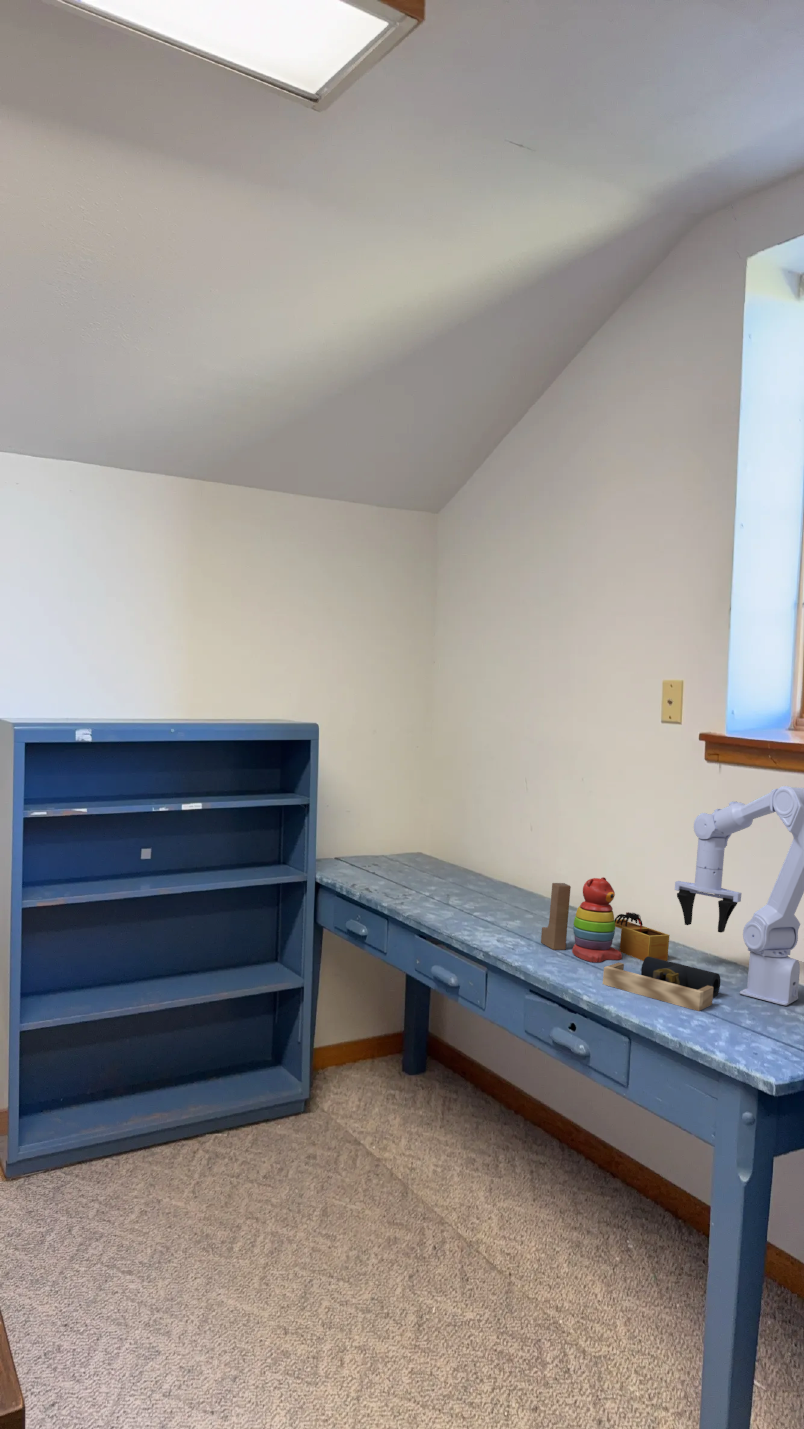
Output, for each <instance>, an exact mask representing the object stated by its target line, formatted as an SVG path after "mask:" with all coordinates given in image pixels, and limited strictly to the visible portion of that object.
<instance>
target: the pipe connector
mask: <svg viewBox="0 0 804 1429" xmlns="http://www.w3.org/2000/svg"><path fill="white" fill-rule="evenodd" d="M640 970H641V971H640V975H643V976H647V977H651V978H654V979H658V980H662V981H666V982H669V983H673V984H677V985H681V986H685V987H688V988H692V989H696V990H698V989H701V988H703V987H705V986H707V985H708V986H712V987H714V988H713V999H714V998H715V997H717V996H718V995H719V992H720V987H721V975H720V974H719V973H718V972H713V971H710V970H705V969H701V968H696V967H693V966H689V965H685V964H681V963H677V962H672V961H668V960H667V961H665V960H661V959H657V958H653V957H649V956H647V957H646V958H645V959H644V961H642V964H641V969H640Z"/></svg>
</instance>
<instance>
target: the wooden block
mask: <svg viewBox="0 0 804 1429" xmlns="http://www.w3.org/2000/svg"><path fill="white" fill-rule="evenodd" d="M571 888H572V887H571V885H570V884H567V883H565V882H552V884H551V894H550V895H551V896H550V907H549V918H548V921H549V922H548V925H547V927H546V926H545V927H543V926H542V927H541V935H540V943H541V944H543V945H545V946H546V947H548V948H549V949H551V950H553V951H560V950H561V951H563V950H564V951H565V950H566V949H567V948H566V947H567V937H568V936H567V935H568V924H569V922H568V921H569V911H570V910H569V909H570V898H571Z"/></svg>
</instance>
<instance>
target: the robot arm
mask: <svg viewBox="0 0 804 1429" xmlns="http://www.w3.org/2000/svg"><path fill="white" fill-rule="evenodd" d="M713 811H714V812H712V813H708V812H707V813H706V812H701V813H700V814H699V815H697V816H696V817H695V819H694V822H693V831H694V834H695V835H696V837H697V850H696V861H695V862H696V863H695V877H694V882H689V881H681V880H677V881H674V891H678V892H677V893H676V897H677V899H678V902H679V904H680V906H681V910H682V915H683V921H684V925H686V926H689V925H692V920H693V909H694V905H695V904H694V903H695V899H696V895H702V896H706V897H711V898H717V899H721V900H718V902H717V903H718V904H717V905H718V922H717V932H718V933H720V934H721V933H724V932H725V930H726V926H727V925H728V922H729V918H730V917H731V914H732V913H733V911H734V910H735V908H736V906H737V905H738V903H740V902H742V892H739V891H734V890H731V889H727V888H724V887H723V886H722V884H723V874H724V873H723V872H724V859H725V848H727V846H728V841H729V839H730V838H731V836H732V834H735V833H738V832H740V831H742V830H745V829H748V828H749V827H752V826H751V825H753V821H754V820H756V819H758V818H761V817H764V816H767V815H771V814H773V813H776V815H777V816H778V818H779V819H780V820H781V821H782V824H783V825H784V826H785V828H786V829H787V831H788V832H789V833H791V834H792V837H793V839H792V842H791V844H790V847H789V848H788V851H787V854H786V856H785V859H784V862H783V863H782V865H781V866H782V867H781V868H780V871H779V874H778V876H777V879H776V881H775V883H774V885H773V887H772V890H771V892H770V895H769V898H768V900H767V903H766V904H765V905H764V906H762V907H760V908H759V909H758V910H756V911H755V912H754V913H753V916H751V919H750V920H749V921H748V922H746V924H745V925H744V927H743V930H742V937H743V941H744V944H745V945H746V947H747V951H749V961H748V974H747V985H746V988H744V989H742V990H740V991H739V994H740V995H743V996H747V997H751V998H755V999H759V1000H761V1001H762V1000H763V1001H767V1002H769V1003H774V1004H777V1005H781V1006H786V1007H787V1006H789V1005H791V1004H792V1003H794V1002H795V1001H797V1000H799V985H800V974H801V972H800V971H801V968H800V966H801V964H800V961H799V960H798V959H795V958H792V957H789V956H790V955H791V951H792V950H793V949H795V947H796V946H797V944H798V941H799V940H798V939H799V929H800V926H801V922H800V921H799V919H798V918H797V917H796V915H795V914H796V911H797V909H798V907H799V905H800V903H801V901H802V898H803V896H804V787H797V786H795V787H793V786H789V785H782V786H780V787H779V788H774V789H771V791H770V792H768V793H766V794H764V795H763V796H761V797H758V798H757V799H755V800H752V801H750V802H748V803H743V802H741V801H740V802H739V801H734V800H733V801H730V802H729V803H728V806H726V807H723V808H716V809H714V810H713Z"/></svg>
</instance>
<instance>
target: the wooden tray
mask: <svg viewBox="0 0 804 1429" xmlns="http://www.w3.org/2000/svg"><path fill="white" fill-rule="evenodd" d="M624 966H625V963H622V962H615V963H612V964H610V965H607V966H604V967H603V973H602V974H603V975H602V985H603V984H604V986H608V987H611V988H614V987H615V989H617V990H622V991H625V992H629V993H632V994H636V995H639V996H642V997H647V998H650V999H654V1000H658V1001H660V1002H665V1003H669V1004H670V1005H671V1004H672V1005H676V1006H679V1007H683V1008H686V1009H690V1010H692V1011H693V1010H694V1011H698V1012H700V1011H702V1010H704V1009H707V1008H709V1007H710V1006H713V1000H714V998H713V988H714V987H712V986H708V985H707V986H705V987H703V988H701V989H698V990H696V989H692V988H688V987H685V986H681V985H677V984H673V983H669V982H666V981H662V980H658V979H654V978H651V977H647V976H643V975H641V974H639V973H636V972H631V971H628V970H625V969H624V968H625V967H624Z"/></svg>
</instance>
